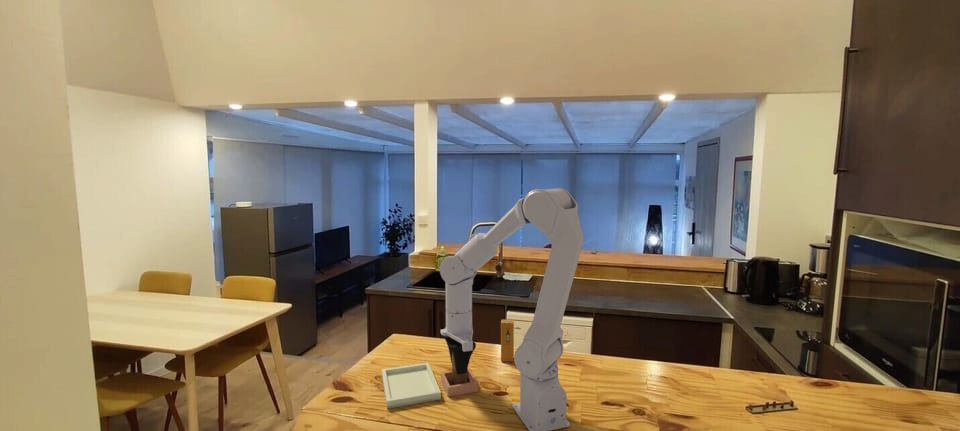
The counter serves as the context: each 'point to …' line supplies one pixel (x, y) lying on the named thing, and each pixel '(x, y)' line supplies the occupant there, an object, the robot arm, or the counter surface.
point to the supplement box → (507, 341)
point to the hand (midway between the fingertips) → (459, 369)
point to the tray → (409, 385)
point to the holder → (459, 388)
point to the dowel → (457, 378)
